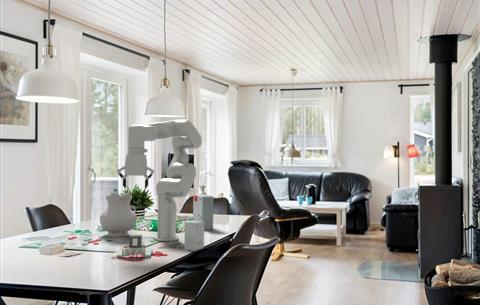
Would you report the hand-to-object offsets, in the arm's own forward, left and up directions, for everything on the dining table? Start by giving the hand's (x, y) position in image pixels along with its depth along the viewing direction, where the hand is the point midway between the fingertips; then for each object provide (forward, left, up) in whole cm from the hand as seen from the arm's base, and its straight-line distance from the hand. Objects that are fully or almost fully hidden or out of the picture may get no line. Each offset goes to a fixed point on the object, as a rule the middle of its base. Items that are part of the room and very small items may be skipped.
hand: (135, 187), depth 241 cm
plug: (+16, +2, -27) cm, 31 cm away
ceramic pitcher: (-38, -13, -28) cm, 49 cm away
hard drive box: (-64, +34, -28) cm, 78 cm away
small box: (+2, +28, -28) cm, 40 cm away
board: (+16, +2, -28) cm, 33 cm away
